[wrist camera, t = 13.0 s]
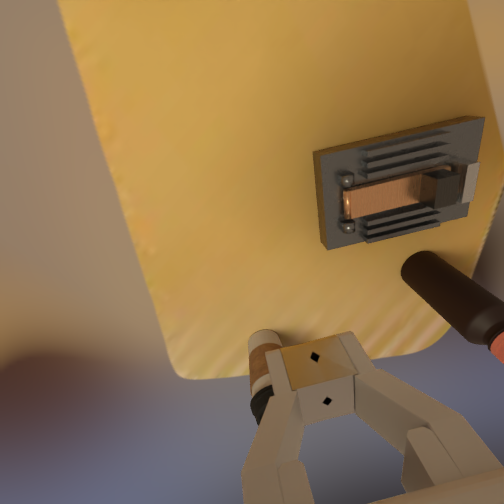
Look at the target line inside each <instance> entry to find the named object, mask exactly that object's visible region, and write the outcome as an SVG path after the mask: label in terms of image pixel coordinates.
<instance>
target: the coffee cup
mask: <svg viewBox="0 0 504 504" xmlns="http://www.w3.org/2000/svg"><path fill="white" fill-rule="evenodd" d="M280 348H283V346H282V344H281V341H280V339H279V337H278V335H277V334H276V333H275V332H274V331H271V330H260V331H258V332H256V333H254V334H253V335H252V336H251V337H250V339H249V341H248V349H249V369H250V390H251V395H252V400H251V404H250V406H251V410H252V413H253V415H254V416H255V418H256V421H257V424H258V426H259V425H260V422H261V419H262V417H263V414H264V411H265V409H266V406H267V404H268V401H269V398H270V397H272V396H274V391H273V387H272V383H271V378H270V374H269V370H268V365H267V361H266V357H265V352H268V351H272V350H276V349H280Z"/></svg>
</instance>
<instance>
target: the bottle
mask: <svg viewBox="0 0 504 504" xmlns="http://www.w3.org/2000/svg"><path fill="white" fill-rule="evenodd" d="M401 276H402V279H403V280H404V281H405V282H406V283H407V284H408V285H409V286H410V287H411V288H412V289H413V290H414V291H415V292H416V293H417V294H418V295H419V296H421V297H422V298H423V299H424V300H425V301H426V302H427V303H428V304H429V305H430V306H431V307H432V308H433V309H434V310H435V311H437V312H438V313H439V314H440V315H441V316H442V317H443V318H444V319H445V320H446V321H447V322H448V323H449V324H450V325H451V326H452V327H454V328H455V329H456V330H457V331H458V332H459V333H460V334H461V335H462V336H463V337H464V338H465V339H466V340H467V341H469V342H471V343H474V344H479V345H488V349H489V350H490V351H491V352H492V354H494V355H495V356H496V357H497V358H498V359H499V360H500V361H501V362H502V363H503V364H504V302H503V301H501V300H500V299H499V298H497V297H496V296H494V295H493V294H491V293H490V292H489V291H487V290H485V289H484V288H483V287H481V286H480V285H478V284H477V283H475V282H474V281H473V280H471V279H470V278H468V277H467V276H466V275H464V274H463V273H461V272H460V271H458V270H457V269H456V268H454V267H453V266H451V265H450V264H448V263H447V262H446V261H444V260H443V259H441V258H440V257H438V256H437V255H435V254H434V253H431V252H429V251H423V252H419V253H416V254H414V255H413V256H411V257H410V258H409V259H408V260H407V261H406V262H405V263H404V265H403V267H402V270H401Z"/></svg>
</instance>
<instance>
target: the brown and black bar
mask: <svg viewBox="0 0 504 504" xmlns="http://www.w3.org/2000/svg"><path fill="white" fill-rule="evenodd" d="M460 175H461V174H459V173H456V172H452V171H451V166H447V165H442V166H438V167H434V168H430V169H426V170H421V171H417V172H413V173H409V174H405V175H401V176H397V177H393V178H388V179H384V180H380V181H376V182H372V183H368V184H364V185H360V186H355V187H351V188H347V189H344V190H343V202H344V218H345V219H353V218H357V217H361V216H365V215H369V214H373V213H377V212H381V211H385V210H390V209H394V208H398V207H402V206H406V205H410V204H414V203H418V202H420V203H422V204H424V205H426V206H428V207H430V208H432V209H438V208H442V207H446V206H450V205H454V204H456V200H457V194H458V188H459V181H460Z"/></svg>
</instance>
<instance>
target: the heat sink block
mask: <svg viewBox="0 0 504 504" xmlns="http://www.w3.org/2000/svg"><path fill="white" fill-rule="evenodd" d="M484 121H485V117H474V116H464V117H460V118H456V119H451V120H447V121H443V122H439V123H434V124H430V125H426V126H421V127H417V128H413V129H408V130H404V131H400V132H396V133H391V134H387V135H383V136H378V137H374V138H370V139H366V140H361V141H357V142H353V143H348V144H344V145H340V146H336V147H331V148H327V149H323V150H318V151H314V152H313V161H314V172H315V183H316V195H317V206H318V217H319V228H320V240H321V243H322V244H323V245H324V246H325V248H326V249H327V250H331V249H335V248H339V247H343V246H347V245H352V244H356V243H360V242H364V241H365V242H366V243H372V242H376V241H380V240H384V239H389V238H393V237H397V236H401V235H405V234H409V233H413V232H417V231H421V230H425V229H430V228H434V227H438V226H440V223H442V222H446V221H450V220H454V219H458V218H462V217H466V216H467V214H468V208H469V203H470V201H473V198H474V192H475V187H476V182H477V177H478V171H479V166H480V162H478V161H477V159H478V153H479V148H480V143H481V137H482V132H483V126H484ZM442 165H447V166H451V171H452V172H456V173H459V174H461V175H460V181H459V188H458V194H457V200H456V204H454V205H450V206H446V207H442V208H438V209H432V208H430V207H428V206H426V205H424V204H422V203H420V202H418V203H414V204H410V205H406V206H402V207H398V208H394V209H390V210H385V211H381V212H377V213H373V214H369V215H365V216H361V217H357V218H353V219H345V218H344V202H343V190H344V189H347V188H351V187H355V186H360V185H364V184H368V183H372V182H376V181H380V180H384V179H388V178H393V177H397V176H401V175H405V174H409V173H413V172H417V171H421V170H426V169H430V168H434V167H438V166H442Z"/></svg>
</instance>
